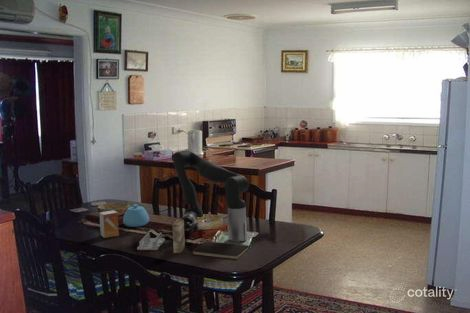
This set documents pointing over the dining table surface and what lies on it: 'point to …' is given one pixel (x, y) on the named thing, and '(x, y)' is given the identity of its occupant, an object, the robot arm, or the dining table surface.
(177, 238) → the beige mottled box
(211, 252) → the hardcover book
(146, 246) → the grey plastic bag
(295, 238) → the dining table surface
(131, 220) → the sugar bowl
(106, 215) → the small box
